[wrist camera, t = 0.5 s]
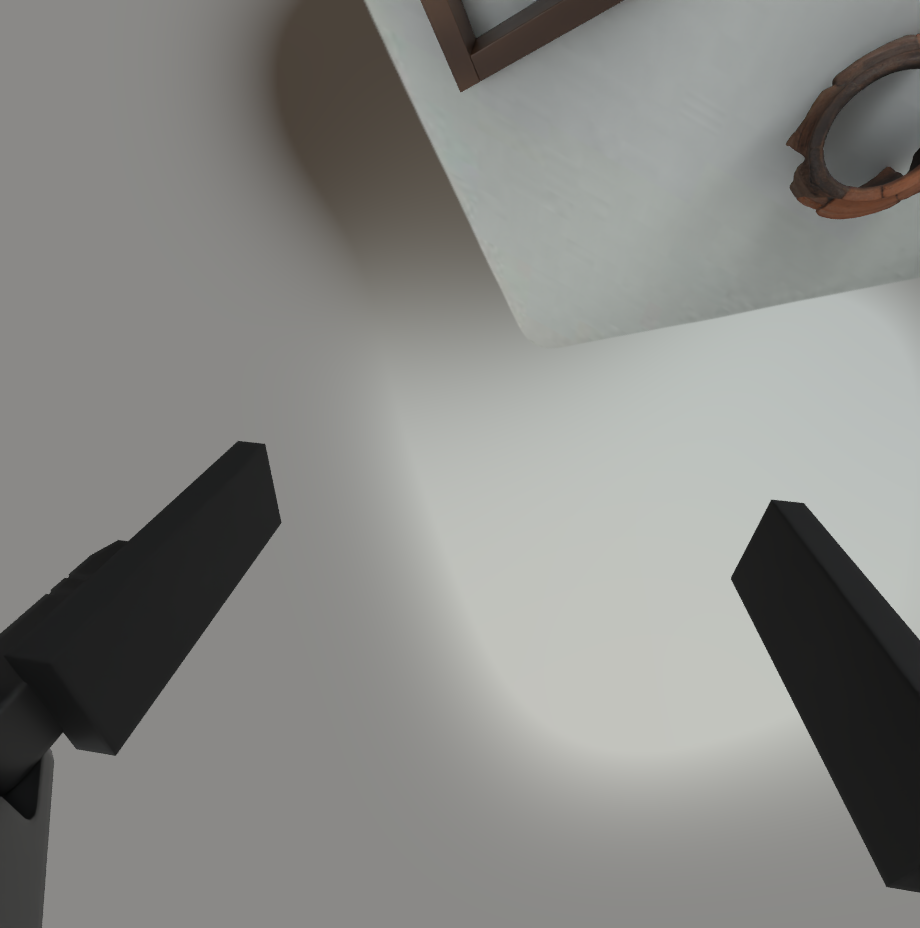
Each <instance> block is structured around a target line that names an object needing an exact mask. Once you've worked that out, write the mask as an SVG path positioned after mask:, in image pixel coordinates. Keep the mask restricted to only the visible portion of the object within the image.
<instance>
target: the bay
mask: <svg viewBox="0 0 920 928" xmlns="http://www.w3.org/2000/svg"><path fill="white" fill-rule="evenodd" d="M622 1H624V0H538V1H536V2H535V3H533V4H531V5H530V6H528V7H527V8H525V9H523V10H522V11H520V12H518V13H517V14H515V15H514V16H512V17H510V18H509V19H507V20H506V21H504V22H502V23H501V24H499V25H497V26H496V27H494V28H493V29H491V30H489V31H488V32H486V33H485V34H483V35H481V36H480V37H478V38H477V39H476V38H475V35H474V32H473V30H472V27H471V25H470V22H469V19H468V17H467V14H466V11H465V9H464V6H463V4H462V1H461V0H421V3H422V5H423V7H424V10H425V12H426V14H427V16H428V19H429V21H430V23H431V26H432V28H433V30H434V32H435V35H436V37H437V39H438V42H439V44H440V46H441V49H442V51H443V53H444V55H445V58H446V60H447V62H448V65H449V67H450V69H451V72H452V74H453V76H454V78H455V81H456V83H457V85H458V88H459V90H460V92H463V91H464V90H466V89H468V88H470V87H471V86H473V85H475V84H477V83H479V82H480V81H482V80H484V79H485V78H487V77H489V76H491V75H492V74H494V73H496V72H498V71H500V70H501V69H503V68H505V67H507V66H508V65H510V64H512V63H514V62H516V61H517V60H519V59H521V58H523V57H524V56H526V55H528V54H530V53H532V52H533V51H535V50H537V49H539V48H540V47H542V46H544V45H546V44H547V43H549V42H551V41H553V40H555V39H556V38H558V37H560V36H562V35H563V34H565V33H567V32H569V31H571V30H572V29H574V28H576V27H578V26H579V25H581V24H583V23H585V22H586V21H588V20H590V19H592V18H594V17H595V16H597V15H599V14H601V13H602V12H604V11H606V10H608V9H610V8H611V7H613V6H615V5H617V4H618V3H620V2H622Z"/></svg>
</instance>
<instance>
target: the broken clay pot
mask: <svg viewBox="0 0 920 928" xmlns="http://www.w3.org/2000/svg"><path fill="white" fill-rule="evenodd" d="M908 69H920V34H917V35H916V36H915V35H906V36H903V37H901V38H899V39H896V40H894V41H892V42H889V43H887V44H886V45H883V46H881V47H879V48H877V49H876V50H874V51H872V52H870V53H868V54H866V55H865V56H863V57H862V58H860V59H858V60H857V61H855V62H854V63H853V64H851V65H850V66H849V67H847V68H846V69H845V70H843V71H842V72H840V73H839V74H838V75H837V76H836V77H835V78H834V79H833V82H832V85H833V86H832V87H830V88H827V89H825V90H824V91H822V92H821V93H820V95H819V96H818V98H817V99H816V100H815V102H814V103H813V105H812V107H811V109H810V110H809V112H808V113H807V116H806V117H805V119H804V120H803V122H802V123H801V125H800V126H799V127H798V128H797V130H796V131H795V132H794V133H793V134H792V135H791V137H790V138H789V140H788V141H787V143H786V145H787V146H790V147H791V148H792V149H794V150H795V151H797V152H799V153H800V154H802V155H803V156H804V157H805V160H804V162H803V163H801V164H800V165H799V166H798V167H797V170H796V171H795V173H794V180H793V182H792V183H791V185H790V190H791V191H792V193H793V195H794V196H795V197H796V198H797V200H798V201H799V202H800V203H802V204H803V205H805V206H808V207H810V208H813V209H816V213H817V214H818V215H819V216H821V217H825V218H830V219H848V218H856V217H861V216H865V215H869V214H873V213H876V212H879V211H882V210H885V209H888V208H890V207H892V206H894V205H895V204H897V203H899V202H900V201H901V200H903V199H907V198H909V197H910V196H912V195H915V194H917V193H918V192H920V148H919V149H918V150H917V152H916V153H915V154H914V156H913V160H912V163H911V166H910V169H909V171H908V173H907V174H906V175H904V176H903V175H902V174H901V173H899V172H895V171H894V169H892V168H891V167H886V168H885V169H884V170H883V171H882V172H880V173H879V174H878V175H877V176H876V177H874V178H873V179H871V180H870V181H869V182H867V183H866V184H864V185H862V186H860V187H858V188H857V187H852V186H846V185H843V184H841V183H839V182H838V181H836V180H835V179H834V178H833V177H832V176H831V175H830V173H829V171H828V169H827V167H826V164H825V161H824V150H823V148H824V144H825V140H826V137H827V134H828V132H829V129H830V127H831V125H832V123H833V121H834V119H835V118H836V116H837V115H838V113H839V112H840V111H841V109H842V108H843V107H844V106H845V105H846V104H847V103H848V102H849V101H850V100H851V99H852V98H853V97H854V96H855V95H856V94H857V93H858V92H860V91H861V90H863V89H864V88H865V87H867V86H868V85H870V84H871V83H873V82H875V81H876V80H878V79H880V78H882V77H884V76H886V75H889V74H891V73H894V72H898V71H902V70H908Z"/></svg>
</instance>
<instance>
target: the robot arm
mask: <svg viewBox="0 0 920 928" xmlns="http://www.w3.org/2000/svg"><path fill="white" fill-rule="evenodd" d="M280 524H281V519H280V514H279V509H278V504H277V499H276V494H275V490H274V485H273V480H272V475H271V470H270V465H269V461H268V456H267V451H266V446H265V444H260V443H251V442H242V441H238V442H237V443H235V444H234V445H233V447H231V448H230V449H229V450H228V451H227V452H226V453H225V454H223V456H221V457H220V458H219V459H218V460H217V461H216V462H215V463H214V464H213V465H211V466H210V467H209V468H208V469H207V470H206V471H205V472H204V473H203V474H202V475H200V476H199V477H198V478H197V479H196V480H195V481H194V482H193V483H192V484H191V485H190V486H188V487H187V488H186V489H185V490H184V491H183V492H182V493H181V494H180V495H179V496H177V497H176V498H175V499H174V500H173V501H172V502H171V503H170V504H169V505H168V506H166V507H165V508H164V509H163V510H162V511H161V512H160V513H159V514H158V515H157V516H156V517H154V518H153V519H152V520H151V521H150V522H149V523H148V524H147V525H146V526H145V527H144V528H142V529H141V530H140V531H139V532H138V533H137V534H136V535H135V536H134V537H133V538H131V539H130V540H129V541H121V540H118V541H116V542H114V543H112V544H110V545H109V546H107V547H105V548H103V549H101V550H99V551H98V552H96V553H94V554H92V555H91V556H89V557H88V558H87V559H86V560H85V561H84V562H82V563H81V564H80V565H79V566H78V567H77V568H76V569H74V570H73V571H72V572H71V573H70V574H69V577H68V578H64V579H63V580H62V581H61V582H60V583H58V584H57V585H56V586H55V587H54V588H52V589H51V593H50V594H46V595H44V596H43V597H42V598H41V599H40V600H39V601H38V602H36V603H35V604H34V605H33V606H32V607H31V608H29V609H28V610H27V611H26V612H25V613H24V614H22V615H21V616H20V617H19V618H18V619H17V620H16V621H14V622H13V623H12V624H11V625H10V626H9V627H7V629H5V630H4V631H3V632H2V633H1V634H0V928H42V918H43V904H44V890H45V877H46V863H47V849H48V836H49V822H50V809H51V795H52V782H53V768H54V759H53V755H52V751H51V749H50V747H51V746H52V745H53V743H54V742H55V741H56V740H57V739H58V737H59V736H60V735H61V734H62V733H63V732H64V734H65V735H66V736H67V738H68V739H69V740H70V741H71V743H72V744H73V745H74V747H75V748H76V749H79V750H85V751H91V752H97V753H103V754H109V755H114V756H115V755H116V754H117V753H118V752H119V750H120V749H121V747H122V746H123V745H124V743H125V742H126V740H127V739H128V737H129V736H130V735H131V733H132V732H133V730H134V729H135V728H136V726H137V725H138V724H139V722H140V721H141V719H142V718H143V716H144V715H145V713H146V712H147V711H148V709H149V708H150V707H151V705H152V704H153V702H154V701H155V699H156V698H157V697H158V695H159V694H160V693H161V691H162V689H163V688H164V687H165V686H166V684H167V683H168V681H169V680H170V679H171V677H172V676H173V674H174V673H175V671H176V670H177V669H178V667H179V666H180V664H181V663H182V662H183V660H184V659H185V657H186V656H187V655H188V653H189V652H190V650H191V649H192V648H193V646H194V645H195V643H196V642H197V641H198V639H199V638H200V636H201V635H202V634H203V632H204V631H205V629H206V628H207V627H208V625H209V624H210V622H211V621H212V619H213V618H214V617H215V615H216V614H217V613H218V611H219V610H220V608H221V607H222V605H223V604H224V603H225V601H226V600H227V598H228V597H229V596H230V594H231V593H232V591H233V590H234V588H235V587H236V586H237V584H238V583H239V582H240V580H241V579H242V577H243V576H244V574H245V573H246V572H247V570H248V569H249V568H250V566H251V565H252V563H253V562H254V561H255V559H256V558H257V556H258V555H259V554H260V552H261V550H262V549H263V548H264V546H265V545H266V544H267V542H268V541H269V539H270V538H271V537H272V535H273V534H274V532H275V531H276V530H277V528H278V527H279V525H280ZM731 580H732V582H733V584H734V586H735V588H736V590H737V592H738V594H739V596H740V597H741V600H742V602H743V604H744V606H745V607H746V609H747V611H748V614H749V615H750V618H751V619H752V621H753V623H754V625H755V627H756V629H757V631H758V633H759V635H760V637H761V639H762V641H763V643H764V645H765V647H766V649H767V651H768V653H769V655H770V657H771V659H772V661H773V663H774V665H775V667H776V669H777V671H778V673H779V675H780V677H781V679H782V681H783V683H784V684H785V687H786V689H787V691H788V693H789V695H790V697H791V699H792V701H793V703H794V705H795V707H796V709H797V710H798V712H799V714H800V716H801V718H802V720H803V722H804V724H805V726H806V728H807V730H808V732H809V734H810V736H811V738H812V740H813V742H814V744H815V746H816V748H817V750H818V752H819V754H820V756H821V758H822V760H823V762H824V764H825V766H826V768H827V770H828V772H829V774H830V776H831V778H832V780H833V782H834V784H835V786H836V788H837V789H838V791H839V794H840V796H841V797H842V800H843V802H844V804H845V805H846V807H847V809H848V811H849V813H850V815H851V817H852V819H853V821H854V823H855V825H856V827H857V829H858V831H859V833H860V835H861V837H862V839H863V841H864V843H865V845H866V847H867V849H868V851H869V853H870V855H871V857H872V859H873V861H874V863H875V865H876V867H877V869H878V871H879V873H880V875H881V877H882V878H883V881H884V883H885V885H886V887H890V888H896V889H902V890H908V891H914V892H920V640H919V639H918V638H917V636H916V635H915V634H914V633H913V632H912V631H911V629H910V628H909V627H908V626H907V625H906V623H905V622H904V621H903V620H902V619H901V618H900V616H899V615H898V614H897V613H896V612H895V610H894V609H893V608H892V607H891V606H890V604H889V603H888V602H887V601H886V600H885V599H884V597H883V596H882V595H881V594H880V593H879V591H878V590H877V589H876V588H875V587H874V586H873V584H872V583H871V582H870V581H869V580H868V579H867V577H866V576H865V575H864V574H863V573H862V571H861V570H860V569H859V568H858V567H857V565H856V564H855V563H854V562H853V561H852V560H851V558H850V557H849V556H848V555H847V554H846V552H845V551H844V550H843V549H842V548H841V547H840V545H839V544H838V543H837V542H836V541H835V539H834V538H833V537H832V536H831V535H830V534H829V532H828V531H827V530H826V529H825V528H824V527H823V525H822V524H821V523H820V522H819V521H818V519H817V518H816V517H815V516H814V515H813V514H812V512H811V511H810V510H809V509H808V508H807V506H806V505H805V504H804V503H797V502H788V501H778V500H771V502H770V504H769V506H768V508H767V509H766V511H765V513H764V515H763V517H762V519H761V521H760V523H759V525H758V527H757V529H756V531H755V533H754V535H753V536H752V538H751V540H750V542H749V544H748V546H747V548H746V550H745V552H744V554H743V556H742V558H741V560H740V561H739V564H738V565H737V567H736V569H735V571H734V573H733V575H732V577H731Z"/></svg>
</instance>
